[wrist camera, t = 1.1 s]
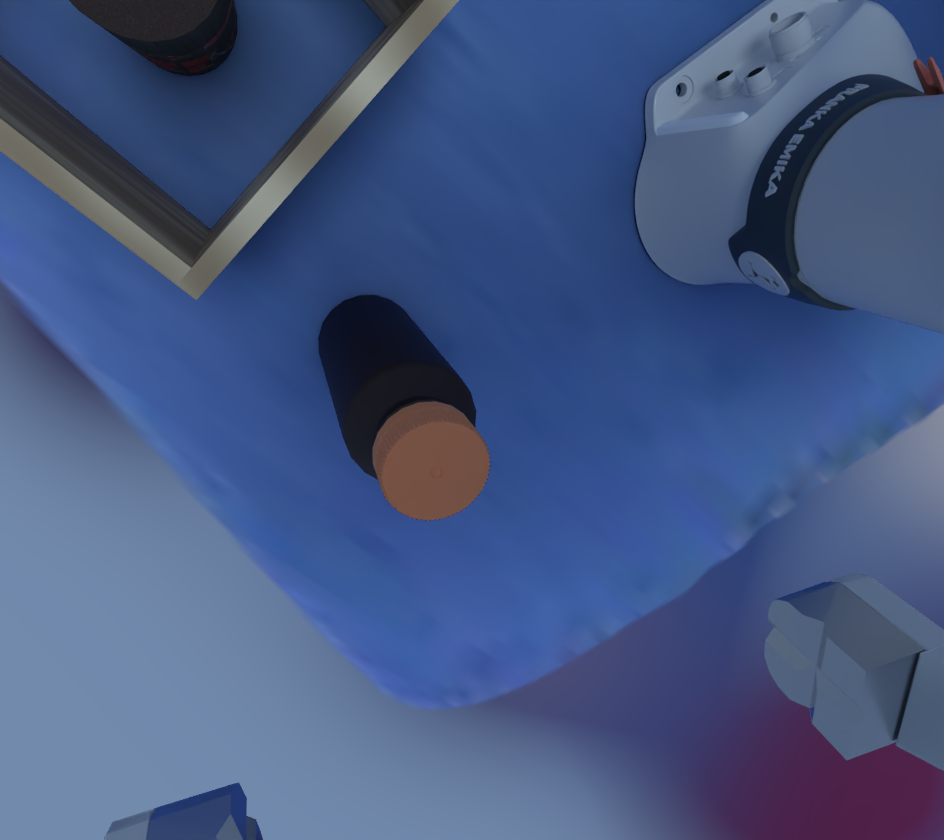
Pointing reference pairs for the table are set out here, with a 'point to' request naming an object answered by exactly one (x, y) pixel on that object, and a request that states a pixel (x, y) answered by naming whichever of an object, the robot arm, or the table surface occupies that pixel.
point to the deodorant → (170, 30)
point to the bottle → (402, 409)
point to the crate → (151, 209)
